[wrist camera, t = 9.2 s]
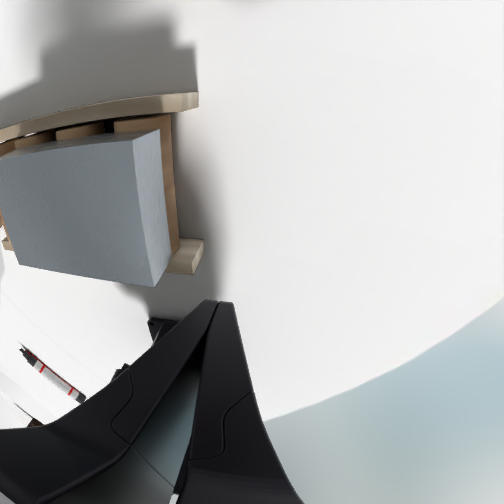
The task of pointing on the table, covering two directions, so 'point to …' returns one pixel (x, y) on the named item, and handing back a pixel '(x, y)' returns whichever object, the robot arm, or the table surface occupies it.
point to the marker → (53, 377)
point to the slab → (89, 206)
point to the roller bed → (182, 250)
